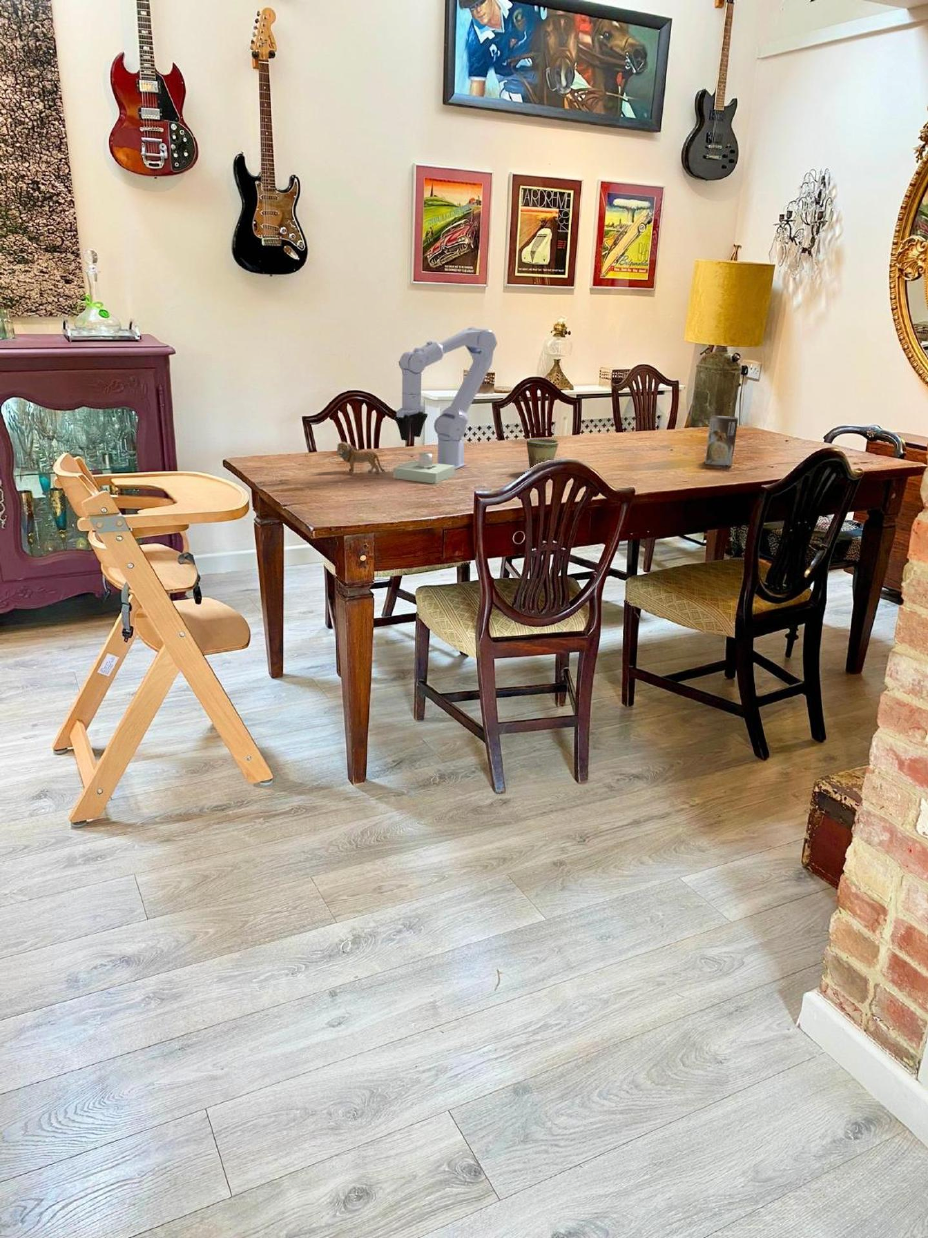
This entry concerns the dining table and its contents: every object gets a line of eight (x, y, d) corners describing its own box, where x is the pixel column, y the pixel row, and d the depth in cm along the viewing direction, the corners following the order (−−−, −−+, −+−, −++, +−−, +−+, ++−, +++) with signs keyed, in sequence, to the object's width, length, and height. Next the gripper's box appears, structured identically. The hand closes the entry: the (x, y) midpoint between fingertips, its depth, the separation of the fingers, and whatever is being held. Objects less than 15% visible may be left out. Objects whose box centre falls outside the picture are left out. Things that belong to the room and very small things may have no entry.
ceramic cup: (554, 476, 272) (556, 444, 269) (522, 474, 274) (524, 442, 270) (558, 468, 284) (560, 437, 281) (528, 466, 286) (530, 435, 282)
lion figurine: (336, 472, 265) (335, 443, 261) (338, 469, 270) (337, 440, 266) (384, 474, 265) (384, 445, 262) (385, 471, 270) (386, 441, 267)
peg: (421, 474, 267) (421, 451, 264) (433, 476, 266) (434, 453, 263) (417, 477, 263) (417, 454, 261) (429, 478, 262) (430, 455, 260)
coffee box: (731, 463, 306) (738, 416, 301) (731, 466, 301) (739, 419, 295) (704, 460, 308) (710, 414, 302) (704, 464, 302) (711, 417, 297)
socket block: (413, 469, 273) (414, 460, 272) (454, 475, 268) (455, 465, 267) (393, 477, 261) (393, 467, 260) (435, 483, 256) (436, 473, 255)
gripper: (411, 396, 256) (410, 443, 261) (434, 392, 269) (433, 436, 274) (390, 394, 259) (390, 440, 264) (414, 390, 271) (413, 434, 276)
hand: (410, 438), depth 269 cm, fingers open, 7 cm apart
